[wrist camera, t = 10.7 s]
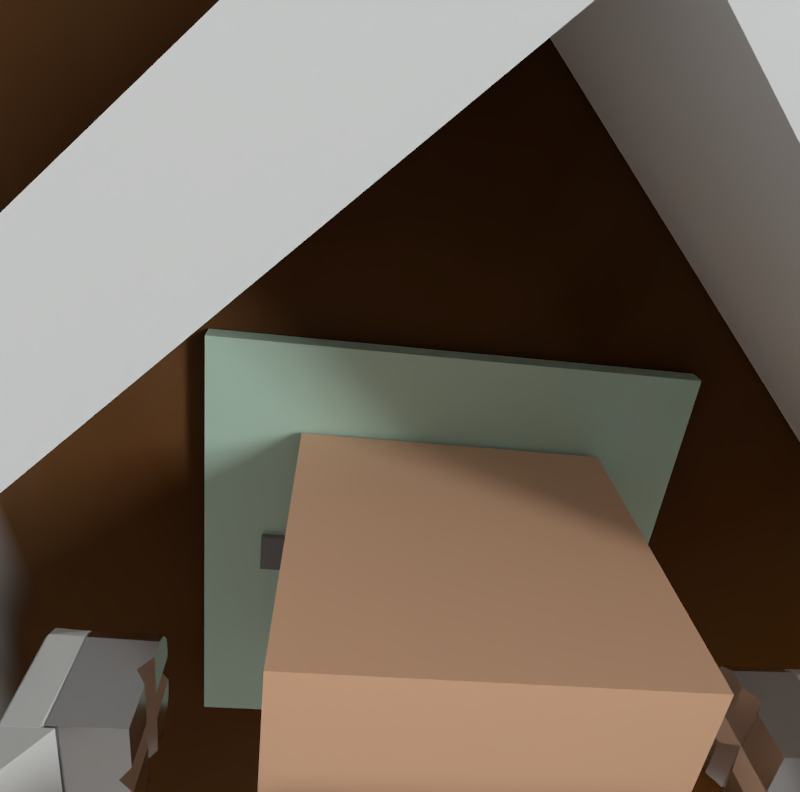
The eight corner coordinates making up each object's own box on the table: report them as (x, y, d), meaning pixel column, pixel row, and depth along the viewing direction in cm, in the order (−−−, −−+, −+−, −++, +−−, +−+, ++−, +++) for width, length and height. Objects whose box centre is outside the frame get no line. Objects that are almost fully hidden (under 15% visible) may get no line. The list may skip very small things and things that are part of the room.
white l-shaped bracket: (1067, 742, 17) (1365, 1036, 12) (444, 1027, 21) (469, 1331, 16) (552, -216, 9) (810, -573, 4) (-291, 567, 13) (-700, 891, 8)
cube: (598, 457, 12) (742, 710, 8) (538, 672, 14) (623, 974, 10) (301, 432, 12) (260, 687, 7) (285, 660, 14) (246, 969, 9)
